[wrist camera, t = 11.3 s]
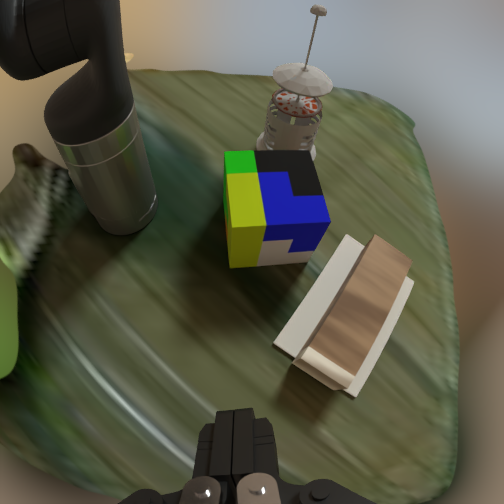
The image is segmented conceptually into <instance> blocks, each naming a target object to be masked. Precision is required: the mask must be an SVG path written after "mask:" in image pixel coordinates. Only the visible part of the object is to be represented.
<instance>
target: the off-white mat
mask: <svg viewBox="0 0 504 504" xmlns="http://www.w3.org/2000/svg"><path fill="white" fill-rule="evenodd" d="M364 247H365V246H363V245H362V244H360V243H359V242H357V241H356V240H354V239H353V238H351V237H350V236H349V235H347V234H346V235H345V237H344V238H343V240H342V242H341V243H340V245H339V246H338V248H337V249H336V251H335V253H334V254H333V256H332V257H331V259H330V260H329V262H328V263H327V265H326V266H325V268H324V270H323V271H322V273H321V274H320V276H319V277H318V279H317V280H316V282H315V283H314V285H313V286H312V288H311V289H310V291H309V292H308V294H307V295H306V297H305V298H304V300H303V301H302V302H301V304H300V305H299V307H298V308H297V310H296V311H295V313H294V314H293V316H292V317H291V318H290V320H289V321H288V323H287V324H286V326H285V327H284V328H283V330H282V331H281V333H280V334H279V335H278V337H277V338H276V340H275V341H274V342H273V344H275V345H276V346H278V347H279V348H281V349H282V350H284V351H285V352H287V353H288V354H289V355H291V356H292V357H294V358H296V356H297V355H298V353H299V352H300V350H301V349H302V347H303V346H304V344H305V343H306V341H307V340H308V338H309V337H310V335H311V333H312V332H313V330H314V329H315V327H316V326H317V324H318V323H319V321H320V319H321V318H322V316H323V315H324V313H325V312H326V310H327V308H328V307H329V305H330V303H331V302H332V300H333V299H334V297H335V295H336V294H337V292H338V290H339V289H340V287H341V285H342V284H343V282H344V280H345V279H346V277H347V275H348V274H349V272H350V270H351V268H352V267H353V265H354V263H355V261H356V260H357V258H358V256H359V254H360V253H361V251H362V249H363V248H364ZM413 284H414V281H412V280H411V279H410V278H408V277H407V276H406V277H405V280H404V282H403V284H402V286H401V288H400V291H399V293H398V295H397V297H396V299H395V302H394V304H393V306H392V308H391V310H390V312H389V314H388V316H387V318H386V320H385V322H384V324H383V326H382V328H381V330H380V332H379V334H378V336H377V338H376V340H375V342H374V343H373V345H372V347H371V349H370V351H369V353H368V355H367V356H366V358H365V360H364V362H363V364H362V365H361V367H360V369H359V371H358V372H357V374H356V376H355V378H354V379H353V381H352V383H351V384H350V386H349V388H348V389H342V390H344V391H346V392H347V393H349V394H350V395H352V396H354V397H357V395H358V393H359V391H360V390H361V388H362V386H363V385H364V383H365V381H366V379H367V378H368V376H369V374H370V372H371V371H372V369H373V367H374V365H375V363H376V361H377V360H378V358H379V356H380V354H381V352H382V350H383V348H384V346H385V344H386V342H387V340H388V338H389V336H390V334H391V332H392V330H393V328H394V326H395V324H396V322H397V320H398V318H399V316H400V314H401V311H402V309H403V307H404V305H405V303H406V300H407V298H408V296H409V294H410V291H411V289H412V287H413Z"/></svg>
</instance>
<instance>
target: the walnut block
mask: <svg viewBox="0 0 504 504" xmlns="http://www.w3.org/2000/svg"><path fill="white" fill-rule="evenodd" d="M411 263H412V260H411V259H409V258H408V257H407V256H405V255H404V254H403V253H401V252H400V251H398V250H397V249H396V248H394V247H393V246H391V245H390V244H389V243H387V242H386V241H384V240H383V239H381V238H380V237H379V236H377V235H376V234H375V235H374V236H373V237H372V239H371V240H370V241H369V242H368V243H367V245H366V246H365V247H364V248H363V249H362V251H361V253H360V254H359V256H358V258H357V260H356V261H355V263H354V265H353V267H352V268H351V270H350V272H349V274H348V275H347V277H346V279H345V280H344V282H343V284H342V285H341V287H340V289H339V290H338V292H337V294H336V295H335V297H334V299H333V300H332V302H331V303H330V305H329V307H328V308H327V310H326V312H325V313H324V315H323V316H322V318H321V319H320V321H319V323H318V324H317V326H316V327H315V329H314V330H313V332H312V333H311V335H310V337H309V338H308V340H307V341H306V343H305V344H304V346H303V347H302V349H301V350H300V352H299V353H298V355H297V356H296V358H295V359H294V360H293V362H292V364H294V365H295V366H297V367H298V368H300V369H301V370H303V371H304V372H306V373H308V374H309V375H311V376H312V377H314V378H315V379H317V380H318V381H320V382H321V383H323V384H324V385H326V386H328V387H329V388H331V389H332V390H341V389H348V388H349V386H350V384H351V383H352V381H353V379H354V378H355V376H356V374H357V372H358V371H359V369H360V367H361V365H362V364H363V362H364V360H365V358H366V356H367V355H368V353H369V351H370V349H371V347H372V345H373V343H374V342H375V340H376V338H377V336H378V334H379V332H380V330H381V328H382V326H383V324H384V322H385V320H386V318H387V316H388V314H389V312H390V310H391V308H392V306H393V304H394V302H395V299H396V297H397V295H398V293H399V291H400V288H401V286H402V284H403V282H404V280H405V277H406V275H407V273H408V270H409V268H410V266H411Z"/></svg>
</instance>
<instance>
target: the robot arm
mask: <svg viewBox="0 0 504 504" xmlns="http://www.w3.org/2000/svg"><path fill="white" fill-rule="evenodd" d="M85 59H89V61H88V62H87V63H86V64H85V65H84V66H83V67H82V68H81V69H80V70H79V71H78V72H77V73H76V74H75V75H73V76H72V77H71V78H69V79H68V80H67V81H65V82H64V83H63V84H62V85H61V86H60V87H58V88H57V89H56V91H55V92H54V93H53V94H52V95H51V97H50V99H49V100H48V102H47V104H46V106H45V110H44V120H45V123H46V126H47V128H48V130H49V132H50V134H51V136H52V138H53V140H54V142H55V144H56V146H57V148H58V150H59V152H60V154H61V156H62V158H63V160H64V162H65V164H66V165H67V167H68V169H69V176H70V177H71V179H72V181H73V183H74V185H75V186H76V188H77V190H78V192H79V194H80V195H81V197H82V199H83V201H84V202H85V204H86V206H87V207H88V209H89V211H90V212H91V214H92V215H94V216H95V218H96V220H97V221H98V223H99V224H100V226H101V227H102V228H103V229H104V230H105V231H106V232H109V233H111V234H114V235H128V234H132V233H134V232H137V231H139V230H140V229H142V228H144V227H145V226H146V225H147V224H148V223H149V222H150V221H151V220H152V218H153V217H154V215H155V213H156V211H157V206H158V198H157V195H156V191H155V187H154V183H153V179H152V175H151V171H150V167H149V163H148V159H147V155H146V151H145V147H144V143H143V139H142V134H141V130H140V126H139V121H138V117H137V113H136V108H135V103H134V99H133V94H132V90H131V86H130V82H129V77H128V73H127V67H126V62H125V56H124V48H123V38H122V27H121V13H120V1H119V0H0V66H1V68H2V69H3V70H4V71H5V72H6V73H7V74H9V75H10V76H11V77H13V78H15V79H17V80H29V79H34V78H37V77H40V76H43V75H45V74H47V73H50V72H53V71H55V70H58V69H60V68H63V67H65V66H68V65H71V64H74V63H77V62H79V61H82V60H85ZM118 504H376V503H374V502H372V501H370V500H368V499H366V498H364V497H362V496H360V495H358V494H356V493H354V492H352V491H351V490H349V489H347V488H345V487H343V486H341V485H340V484H338V483H336V482H334V481H332V480H328V479H318V480H314V481H311V482H309V483H308V484H306V485H305V486H303V485H293V484H289V483H287V482H285V481H283V480H282V479H281V478H280V477H279V468H278V458H277V449H276V443H275V438H274V432H273V427H272V424H271V423H270V422H269V421H268V419H267V418H260V419H255V415H254V411H253V408H245V409H236V410H227V411H217V412H216V419H215V423H210V424H205V426H204V427H203V428H202V430H201V431H200V433H199V440H198V446H197V452H196V458H195V465H194V471H193V477H192V479H191V480H190V481H188V482H187V483H186V484H185V486H184V488H183V489H182V490H180V491H178V492H174V493H170V494H165V495H160V494H159V493H158V492H157V491H155V490H152V489H141V490H138V491H136V492H134V493H133V494H131V495H130V496H128V497H127V498H125V499H124V500H123V501H121V502H120V503H118Z"/></svg>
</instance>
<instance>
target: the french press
mask: <svg viewBox="0 0 504 504" xmlns="http://www.w3.org/2000/svg"><path fill="white" fill-rule="evenodd" d="M310 12H311V13H312V14H315V15H316V20H315V24H314V29H313V33H312V37H311V42H310V46H309V50H308V55H307V59H306V63H305V64H304V63H290V64H284V65H281V66H278V67H277V68H276V69H275V70H274V71H273V78H274V79H275V81H276V82H277V84H278V85H279V86H280V87H281V89H279V90H277V91H276V92H275V93H274V94H273V95H272V99H271V101H270V102H269V105H268V109H267V115H268V117H267V116H266V121H267V119H268V121H267V123H266V122H265V127H266V125H267V127H266V129H265V131H264V132H263V133H261V135H260V136H259V138H258V139H257V150H310V153H311V156H312V160H314V158H315V156H316V151H315V146H314V140H315V136H316V135H315V134H317V130H318V129H317V128H319V124H320V122H321V119H322V111H321V110H322V103H321V101H320V100H319V99H318V97H321V96H324V95H326V94H328V93H329V92H330V91H331V89H332V88H333V85H332V82H331V80H330V78H329V77H328V76H327V75H326V74H325V73H323V72H322V71H321V70H320V69H318V68H316V67H313V66H310V65H307V62H308V58H309V54H310V50H311V45H312V41H313V37H314V33H315V29H316V24H317V20H318V16H326V13H327V11H326V9H325V7H324V6H322V5H314V6H312V8H311V10H310ZM273 103H274V104H275V105H274V106H272V107H270V105H271V104H273ZM269 107H270V109H269ZM273 109H278V112H271V110H273ZM317 114H318V115H319V116H320V121H319V119H318V118H317V116H316V115H317ZM274 115H277V117H275V116H274ZM291 116H293V117H296V120H295V124H294V125H291V124H290V120H291ZM311 117H312V118H314V119H315V120H316V121H317V123H315V122H314V121H312V120H311ZM268 123H269V125H268ZM309 123H311V124H313V125H309ZM315 132H316V133H315ZM312 134H314V135H313V136H312Z"/></svg>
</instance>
